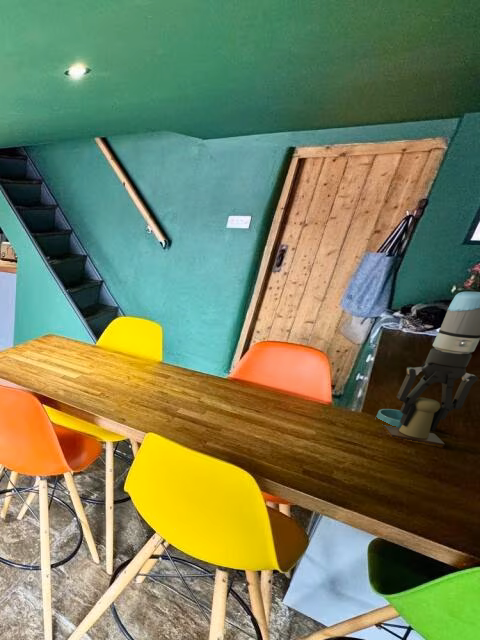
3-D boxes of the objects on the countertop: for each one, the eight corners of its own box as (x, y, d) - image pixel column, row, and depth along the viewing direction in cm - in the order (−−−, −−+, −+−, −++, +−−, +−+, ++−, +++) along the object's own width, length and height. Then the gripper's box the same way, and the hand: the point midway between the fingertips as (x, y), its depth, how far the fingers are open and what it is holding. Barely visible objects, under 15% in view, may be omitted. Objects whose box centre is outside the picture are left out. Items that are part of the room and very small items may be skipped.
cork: (398, 433, 119) (413, 399, 115) (399, 426, 123) (414, 393, 119) (427, 440, 115) (444, 405, 111) (428, 433, 118) (445, 399, 114)
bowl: (416, 421, 129) (419, 413, 128) (430, 436, 120) (435, 427, 119) (370, 414, 134) (373, 406, 133) (381, 428, 125) (385, 419, 124)
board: (432, 437, 120) (434, 433, 119) (442, 448, 114) (445, 443, 113) (382, 429, 125) (384, 425, 124) (390, 439, 119) (392, 434, 118)
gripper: (411, 348, 110) (379, 424, 119) (510, 359, 102) (468, 439, 110) (401, 342, 116) (371, 414, 125) (493, 351, 108) (455, 428, 117)
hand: (416, 425), depth 118 cm, fingers closed on cork, 5 cm apart
